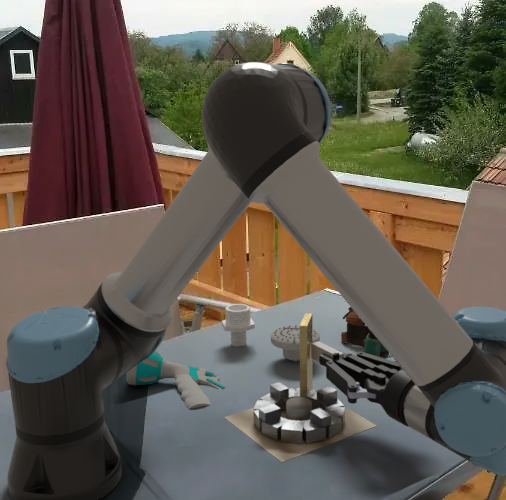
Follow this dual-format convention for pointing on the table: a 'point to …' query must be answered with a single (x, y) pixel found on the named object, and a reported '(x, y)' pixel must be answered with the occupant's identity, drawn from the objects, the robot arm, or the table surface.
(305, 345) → the block ring with board
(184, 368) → the garden hose nozzle
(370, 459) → the table surface
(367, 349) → the binoculars
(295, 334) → the showerhead
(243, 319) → the pipe fitting
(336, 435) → the base
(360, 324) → the brown leather pouch
